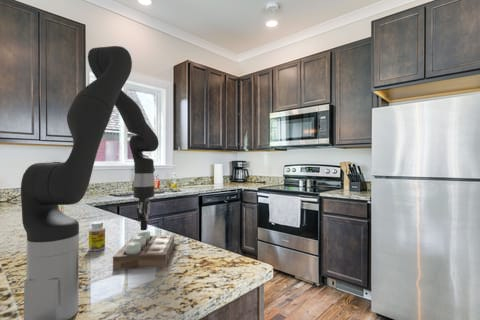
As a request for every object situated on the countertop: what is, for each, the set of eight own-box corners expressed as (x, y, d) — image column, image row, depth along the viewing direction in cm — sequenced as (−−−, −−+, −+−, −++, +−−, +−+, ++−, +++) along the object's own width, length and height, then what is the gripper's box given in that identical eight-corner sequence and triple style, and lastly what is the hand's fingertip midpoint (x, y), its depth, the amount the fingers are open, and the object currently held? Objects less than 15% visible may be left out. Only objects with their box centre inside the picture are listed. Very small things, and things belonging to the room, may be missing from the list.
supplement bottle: (89, 252, 97) (89, 225, 97) (88, 248, 102) (88, 222, 102) (106, 249, 100) (106, 223, 100) (104, 246, 105) (104, 220, 105)
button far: (148, 244, 99) (148, 233, 99) (136, 244, 98) (136, 234, 98) (151, 240, 104) (151, 230, 104) (139, 241, 103) (139, 230, 103)
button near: (138, 258, 84) (138, 245, 84) (123, 259, 84) (123, 246, 84) (142, 253, 89) (142, 241, 89) (128, 254, 88) (128, 242, 88)
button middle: (144, 250, 92) (144, 239, 92) (130, 251, 91) (130, 239, 91) (147, 246, 96) (147, 235, 96) (134, 247, 96) (134, 236, 96)
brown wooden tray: (165, 266, 83) (165, 253, 84) (112, 269, 81) (112, 255, 81) (174, 244, 106) (174, 233, 106) (133, 246, 104) (133, 235, 104)
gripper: (150, 186, 95) (150, 234, 95) (157, 183, 108) (157, 225, 108) (128, 186, 94) (128, 234, 94) (138, 183, 107) (138, 226, 107)
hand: (144, 229), depth 101 cm, fingers closed
